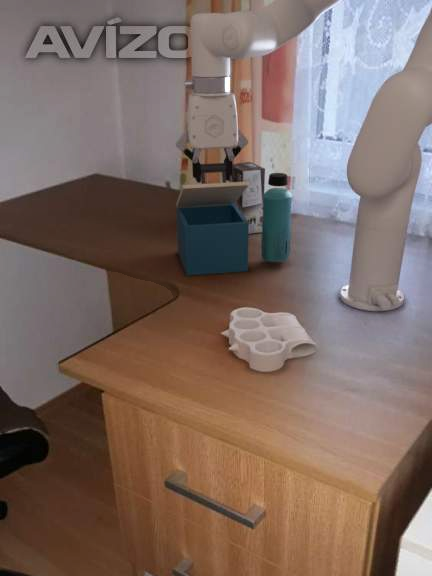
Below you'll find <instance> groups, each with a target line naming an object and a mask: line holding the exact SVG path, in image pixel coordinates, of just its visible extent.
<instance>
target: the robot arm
mask: <svg viewBox="0 0 432 576" xmlns="http://www.w3.org/2000/svg"><path fill="white" fill-rule="evenodd" d="M343 1H344V0H273V1H272V2H270V3H269V4H267V5H266V6H265V7H263V8H261V9H260V10H245V11H244V10H243V11H240V10H239V11H233V12H228V13H227V12H226V13H222V12H202V13H201V12H200V13H195V14H194V15H192V17H191V19H190V23H189V24H190V26H189V27H190V52H191V53H190V58H191V62H190V63H191V77H190V79H188V80H184V88H185V89H189V90H191V93H189V95H188V101H187V111H186V115H187V116H186V129H185V130H184V132H183V133H182V134H181V136H179V138H178V139H177V141H175V144H174V145H175V147H176V148H177V149H178V150H179V151H181V152H182V153H183V154H184V155H185V156H186V157H187V158H188V159H189V160H190V161H191V166H192V167H191V169H192V171H191V172H192V178H193V179H195V181H196V184H201V183H202V181H201V164H202V163H201V162H200V159H199V158H200V155H201V152H202V150H213V149H214V150H215V149H223V151H224V154H225V158H224V159H223V163H226V182H229V181H230V176H232V175H233V164H234V162H233V161H235V158H236V157H237V156H238V155H239V154H240V153H241V151H242V150H243V149H244V148H245V147H246V146H247V145H248V144H249V140H248V138H247V137H246V136H245V135H244V134H243V133H242V131H241V130H240V129H239V124H238V122H239V120H238V109H237V101H236V96H235V95H236V94H235V93H233V92H231V59H232V60H233V59H234V60H244V59H250V58H256V57H263V56H267V55H269V54H271V53H273V52H276V50H278V49H280V48H281V47H283V46H284V45H286V44H287V43H289V42H291V41H292V40H294V39H295V38H297V37H298V36H299V35H301V34H303V32H305V31H306V30H307V29H309V27H311V26H312V25H313V24H314V23H315V22H316V21H318V19H320V17H321V16H322V15H324V14H325V13H327V12H328V11H329V10H331V9H332V8H334V7H336V5H338V4H340V3H341V2H343ZM431 125H432V7H431V8H430V11H429V14H428V16H427V18H426V19H425V21H424V23H423V25H422V26H421V29H420V31H419V32H418V35H417V38H416V40H415V43H414V46H413V48H412V50H411V52H410V55H409V56H408V59H407V61H406V63H405V65H404V66H403V69H402V70H399V71H398V72H395V73H393V74H392V75H391V76H388V78H386V80H384V81H383V83H382V84H381V85H380V86H379V88H378V89H377V91H376V93H375V94H374V96H373V98H372V100H371V102H370V104H369V107H368V109H367V111H366V114H365V116H364V119H363V122H362V125H361V127H360V129H359V132H358V134H357V136H356V139H355V141H354V143H353V146H352V148H351V151H350V154H349V157H348V160H347V163H346V164H347V165H346V178H347V179H346V180H347V181H348V185H349V187H350V188H351V190H352V191H353V192H354V193H355V194H356V195H358V196H359V201H358V206H357V215H356V221H355V229H354V238H353V247H352V254H351V255H352V256H351V264H350V271H349V279H348V284H346V285H343V286H342V287H341V289H340V291H339V298H340V300H341V301H342V302H343V303H344V304H346V305H348V306H350V307H351V308H354V309H357V310H361V311H368V312H389V311H394V310H396V309H398V308H400V307H402V305H403V304H404V302H405V294H404V293H403V291H402V290H401V289H399V284H400V277H401V271H402V266H403V259H404V253H405V246H406V241H407V235H408V227H409V225H410V223H409V222H410V217H411V212H412V206H413V201H414V197H415V192H416V189H417V185H418V181H419V177H420V173H421V167H422V161H423V160H422V150H421V146H420V144H419V142H420V140H421V138H422V135H423V133H424V131H425V129H426V128H428V127H429V126H431ZM186 142H187V143H188V144H189V146H190V147H191V148H192V150H190V149H189V148H188V147H187V146H186V145H185V143H186Z"/></svg>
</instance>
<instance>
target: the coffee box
mask: <svg viewBox="0 0 432 576" xmlns="http://www.w3.org/2000/svg"><path fill="white" fill-rule="evenodd" d="M265 178H266V168H264V167H262V166H260V165H258V164H256V163H254V162H251V161H243V162H237V163H233V175H232V176H230V181H228V183H229V182H249V185H248V187H247V188H246V189H245V191H244V192H243V194H242V195H241V196H240V198H239V199H238V200H237V202H236V203H235V205H236V207H237V208H238V209H239V211H240V212H241V213H242V215H243V216H244V217H245V219H246V220H247V221H248V223H249V235H250V234H257V233H258V234H262V223H263V221H262V220H263V195H264V194H265V185H266V184H265V182H266V181H265V180H266V179H265Z"/></svg>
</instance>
